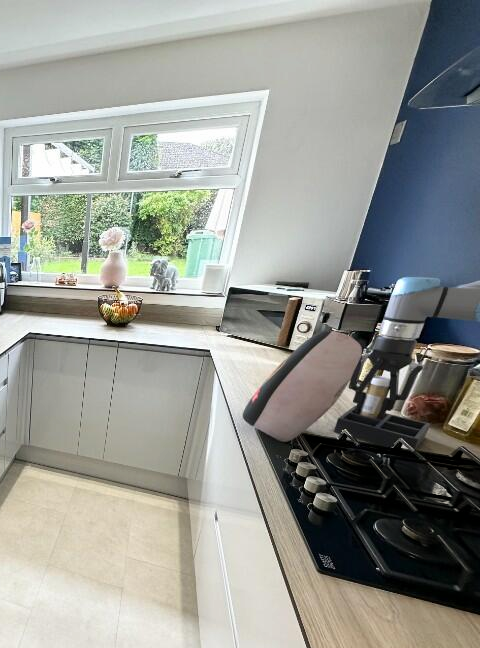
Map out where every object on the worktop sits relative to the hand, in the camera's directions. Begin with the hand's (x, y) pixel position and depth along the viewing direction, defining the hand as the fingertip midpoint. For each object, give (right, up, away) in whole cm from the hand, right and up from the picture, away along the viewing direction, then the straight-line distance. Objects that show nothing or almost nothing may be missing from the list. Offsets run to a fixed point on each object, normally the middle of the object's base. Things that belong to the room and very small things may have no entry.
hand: (367, 416), depth 114 cm
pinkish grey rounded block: (-26, -5, -2) cm, 27 cm away
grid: (-1, -5, -4) cm, 6 cm away
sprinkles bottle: (0, -2, +1) cm, 2 cm away
